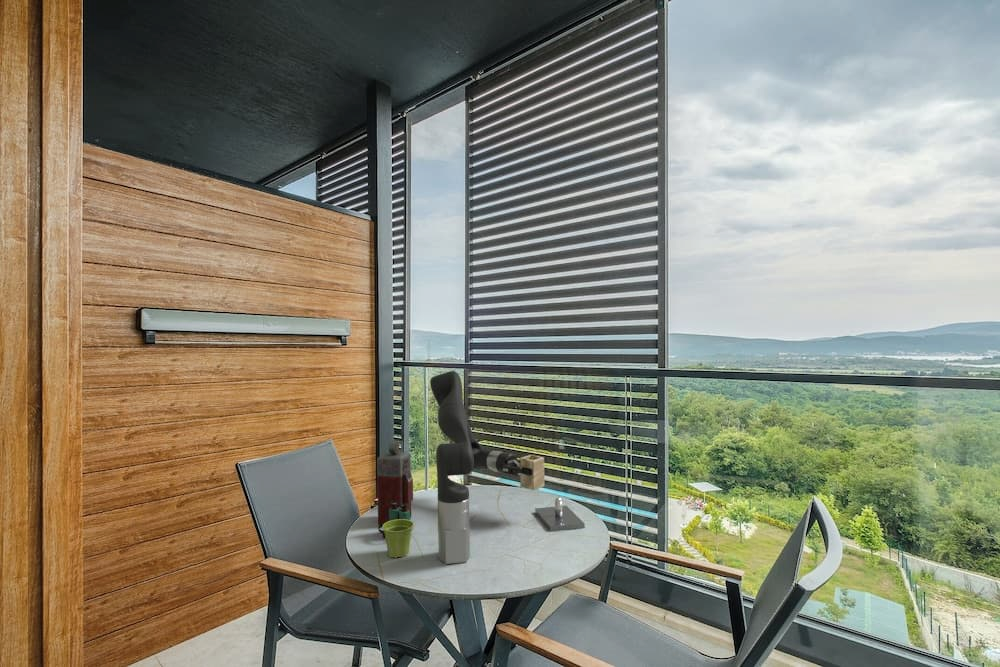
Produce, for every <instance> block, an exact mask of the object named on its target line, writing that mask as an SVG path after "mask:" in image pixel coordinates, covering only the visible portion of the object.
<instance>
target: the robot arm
mask: <svg viewBox="0 0 1000 667" xmlns="http://www.w3.org/2000/svg"><path fill="white" fill-rule="evenodd" d="M461 379H462V378H461V377H460V375H459V373H458V372H457V371H455V370H450V371H447V372H443V373H440V374H438V375H437V374H436V375H435V376H432V377H431V378H430V381H429V382H430V384H429V385H430V389H431V392H432V394H433V397H434V399H435V402H436V403H437V405H438V407H439V408H438V410H437V422H438V427H439V430H440V431H441V432H442V433H443V434H444V435H445V437H447V438H449V440H451V441H452V442H453V443H439V444H438V446H437V447H436V452H435V460H436V463H435V464H436V475H437V476H436V477H437V533H438V534H437V536H438V537H437V538H438V539H437V542H438V543H437V544H438V546H437V547H438V550H437V552H438V560H439V561H441V562H443V563H444V564H445V565H450V564H460V563H467V562H468V560H469V559H470V556H471V547H470V546H471V543H470V542H471V541H470V540H471V539H470V538H471V536H470V530H471V529H470V492H469V491H470V490H469V488H468V487H467V486H466V485H465V484H462V483H459V482H455V481H454V480H452V479H450V478H449V476H451V477H452V476H465V475H468V474H470V473H472V472H473V470H475V469H487V470H490V471H493V472H496V473H499V474H503V475H508V476H510V475H513V476H519V475H520V474H521V475H522V474H525V475H530V476H531V475H532V469H530V468H525V467H522V466H520V458H517V456H516V455H515V454H514V453H510V452H505V451H499V450H492V449H483V447H482V445H481V444H480V443H479V441H478V440H477V439H476V437H475V436H474V434H473V431H472V429H471V426H470V422H468V419H467V414H466V410H465V405H464V400H463V399H464V398H463V396H464V395H463V382H462V380H461Z"/></svg>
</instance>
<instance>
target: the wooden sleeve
mask: <svg viewBox="0 0 1000 667" xmlns="http://www.w3.org/2000/svg"><path fill="white" fill-rule="evenodd" d="M519 459H520V466H522V467H525V468H530V469H532V475H531V476H530V475H525V474H522V475H521V474H519V481H520V482H519V483H520V487H521V488H524V489H528V490H530V491H531V490H532V491H535V490H538V489H540V488H543V487H545V457H542V456H539V455H534V454H529V455H525V456H523V457H522V456H521V457H520V458H519Z"/></svg>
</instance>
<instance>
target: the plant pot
mask: <svg viewBox="0 0 1000 667" xmlns="http://www.w3.org/2000/svg"><path fill="white" fill-rule="evenodd" d="M414 527H415V523H414V522H413V521H412V520H411V519H410V520H407V519H397V520H391V521H388V522H386V523H384V524H383V526H382V527H381V530H383V531H384V533H385V537H386V538H385V543H386V549H387V555H388V557H390V558H393V557H394V558H393V559H398V558H404V557H406V556H407V554H409V553H410V547H411V546H410V545H411V538H412V537H411V536H412V531H413V528H414ZM403 556H404V557H403ZM397 557H398V558H397Z"/></svg>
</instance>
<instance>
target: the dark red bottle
mask: <svg viewBox="0 0 1000 667" xmlns="http://www.w3.org/2000/svg"><path fill="white" fill-rule="evenodd" d="M388 444H389V445H388V451H387V452H385V453H383V454H382V455H380V456H378V457H377V459H376V471H377V472H376V473H377V474H376V475H377V477H376V478H377V479H376V480H377V481H376V482H377V525H378V526H379V525H381V524H383V523H385V522H386V520H389V509H390V508H392V506H391V501H396V502H397V507H399V508H401V505H403V504H407V510H409V513H410V519H411V518H412V502H413V501H414V478H413V476H412V471H411V470H412V469H411V468H412V467H411V466H412V465H411V452H408V451H407V452H405V451H403V452H402V451H399V450H400V444H399V441H394V440H392V441H390V442H389V443H388ZM387 522H388V521H387Z"/></svg>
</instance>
